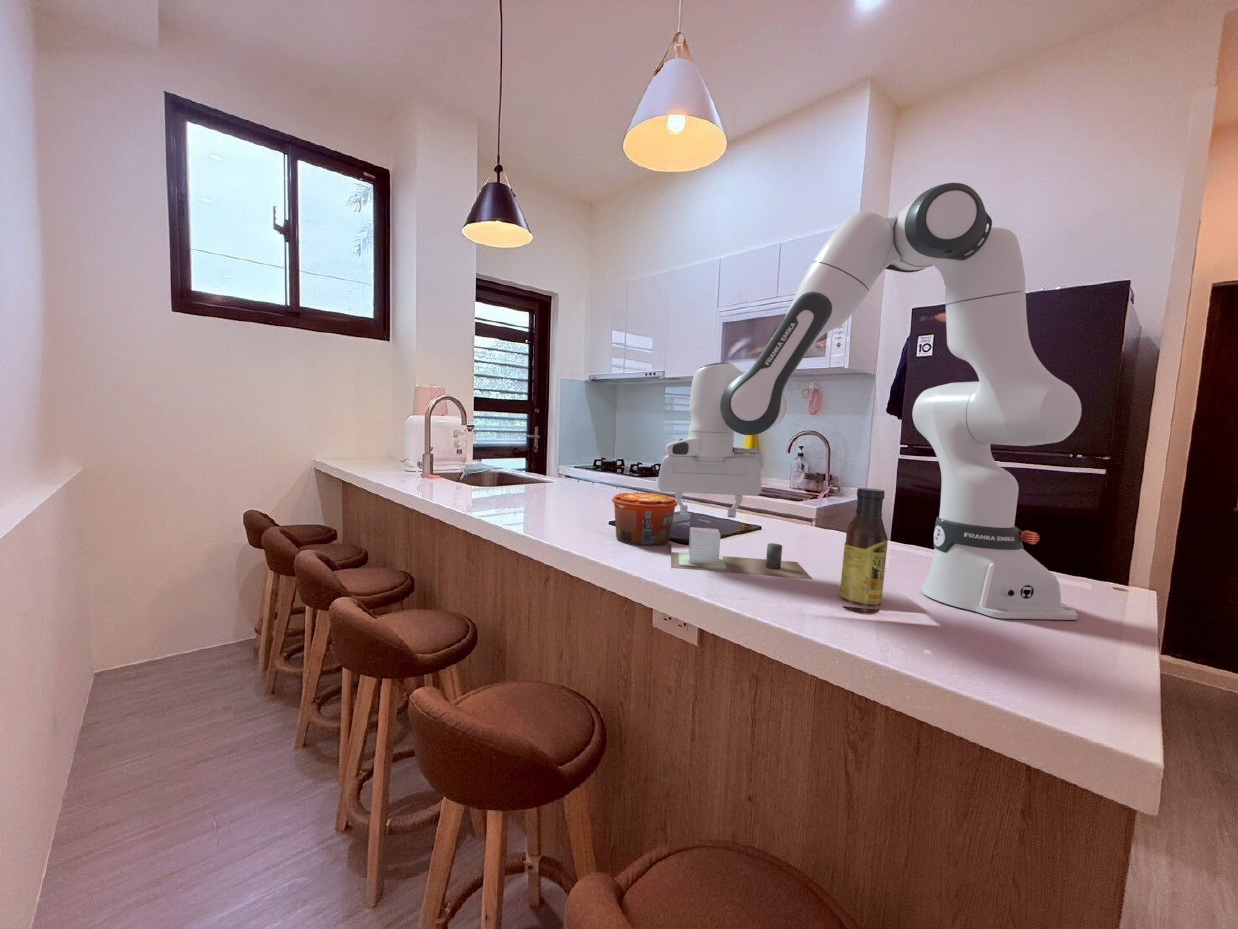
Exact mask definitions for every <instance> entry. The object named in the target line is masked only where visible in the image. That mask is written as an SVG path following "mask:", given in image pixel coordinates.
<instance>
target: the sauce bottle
mask: <svg viewBox="0 0 1238 929" xmlns="http://www.w3.org/2000/svg"><path fill="white" fill-rule="evenodd" d="M885 492H886V491H885V490H883V489H878V488H867V487H857V489H856V496H857V497H856V498H857V501H856V509H855V516H854V518H853V519H852V520H851V521H850V522H849V523H848V525H847V529H846V531H845V532H846V533H845V534H846V536H845V542H844V548H843V557H842V567H841V579H840V589H839V590H840V591H839V595H840V598H841V599H842V600H843V601H845V602H847V603H849V604H852V605H856V606H861V607H856V606H846V605H842V606H841V607H842V608H843V609H845V610H847V611H851V612H854V613H859V614H868V615H869V614H870V615H871V614H872V615H873V614H877V613H878V612H880V608H874V607H878V606H880V605H881V604H882V601H883V599H882V598H883V590H884V581H885V570H886V561H887V552H888V551H887V550H888V536H887V532H886V530H885V525H884V521H883V518H882V517H883V512H882V511H883V502H884V501H883V500H884V499H885ZM866 607H867V608H866ZM872 607H873V608H872Z"/></svg>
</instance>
